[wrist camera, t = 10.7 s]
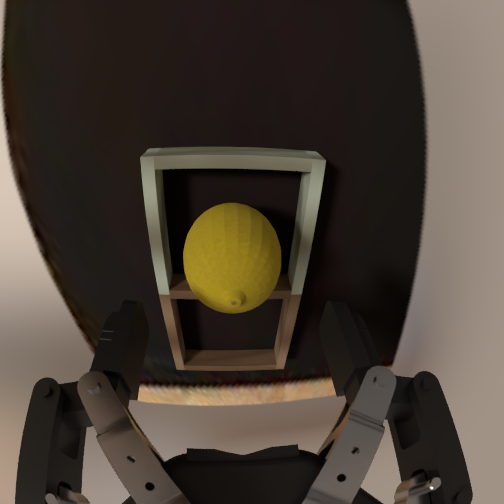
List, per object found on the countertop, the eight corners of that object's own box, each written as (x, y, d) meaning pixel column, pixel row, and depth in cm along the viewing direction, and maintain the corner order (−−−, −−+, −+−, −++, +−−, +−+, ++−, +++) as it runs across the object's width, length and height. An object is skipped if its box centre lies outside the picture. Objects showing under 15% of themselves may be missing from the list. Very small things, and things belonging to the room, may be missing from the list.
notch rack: (149, 148, 16) (140, 157, 15) (316, 151, 17) (326, 160, 16) (178, 353, 28) (176, 369, 26) (280, 353, 29) (283, 368, 27)
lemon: (287, 215, 20) (316, 293, 13) (237, 267, 22) (242, 353, 15) (223, 167, 18) (220, 230, 11) (176, 228, 20) (153, 310, 13)
